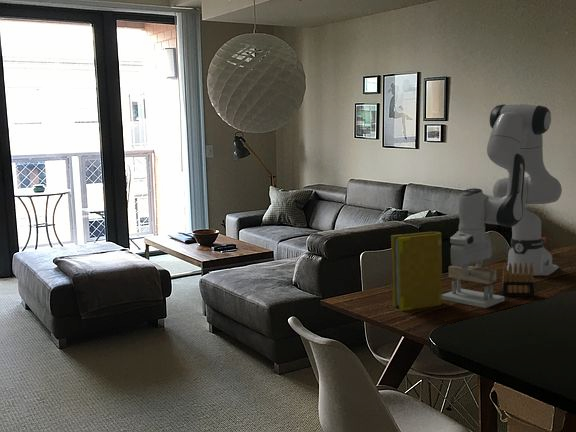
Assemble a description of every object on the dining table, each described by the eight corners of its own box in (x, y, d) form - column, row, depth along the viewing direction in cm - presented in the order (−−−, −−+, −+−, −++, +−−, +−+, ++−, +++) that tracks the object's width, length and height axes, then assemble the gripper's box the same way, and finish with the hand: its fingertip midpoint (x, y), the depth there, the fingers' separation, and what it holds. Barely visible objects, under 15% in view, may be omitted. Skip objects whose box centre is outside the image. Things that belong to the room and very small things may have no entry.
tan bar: (456, 274, 235) (456, 264, 234) (496, 281, 222) (496, 269, 222) (448, 277, 231) (448, 266, 231) (488, 284, 219) (488, 272, 219)
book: (401, 310, 219) (399, 238, 215) (393, 305, 225) (391, 235, 222) (446, 304, 224) (445, 233, 220) (436, 300, 230) (435, 230, 226)
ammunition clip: (502, 295, 231) (502, 263, 230) (502, 294, 233) (502, 261, 231) (534, 296, 229) (534, 263, 227) (533, 294, 230) (533, 262, 229)
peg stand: (460, 292, 239) (460, 276, 238) (504, 300, 225) (504, 283, 224) (440, 299, 231) (440, 282, 230) (485, 308, 217) (485, 290, 216)
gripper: (480, 230, 234) (480, 267, 236) (447, 239, 221) (447, 278, 222) (496, 232, 229) (496, 270, 231) (462, 241, 216) (463, 281, 218)
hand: (472, 274), depth 227 cm, fingers closed on tan bar, 5 cm apart
